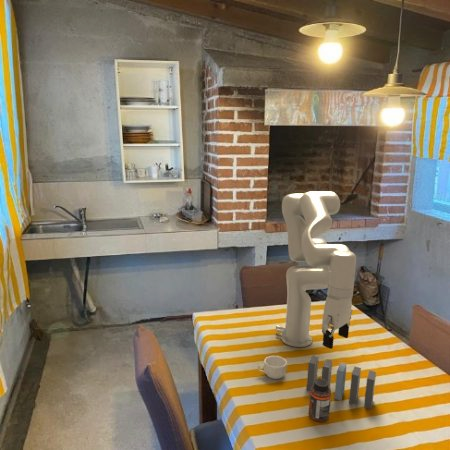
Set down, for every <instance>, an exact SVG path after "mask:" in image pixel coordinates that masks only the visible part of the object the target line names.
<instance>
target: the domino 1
mask: <svg viewBox="0 0 450 450" xmlns="http://www.w3.org/2000/svg"><path fill="white" fill-rule="evenodd" d="M319 357H320V356H317V355H312V356H311V358H310V359H309V362H308V367H307V378H306V379H307V380H306V391H307V392H310V389H311V387H312V386H313V385H314V381H315V379H318V371H319V369H318V368H319Z"/></svg>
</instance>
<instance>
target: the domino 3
mask: <svg viewBox="0 0 450 450" xmlns="http://www.w3.org/2000/svg"><path fill="white" fill-rule="evenodd" d="M347 365H348V364H347V363H344V362H339V364H338V367H337V369H336V380H335V388H334V389H335V390H334V399H335V400H338V401H342V398H343V397H344V394H345V385H346V375H347V373H346V372H347Z"/></svg>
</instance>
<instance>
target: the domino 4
mask: <svg viewBox="0 0 450 450" xmlns="http://www.w3.org/2000/svg"><path fill="white" fill-rule="evenodd" d="M361 371H362V367H359V366H354V367H353V370H352V373H351V380H350V388H349V397H348V399H349V400H348V404H351V405H355V406H356V405H357V402H358V399H359V391H360V381H361V373H362V372H361Z"/></svg>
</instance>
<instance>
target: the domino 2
mask: <svg viewBox="0 0 450 450" xmlns="http://www.w3.org/2000/svg"><path fill="white" fill-rule="evenodd" d="M321 368H322V369H321V379H325V380H326V381H327V382H328V387H329V389H330V388H331V381H332V369H333V360H332V359H328V358H327V359H325V361H324V362H323V365H322V367H321ZM330 390H331V389H330Z"/></svg>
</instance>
